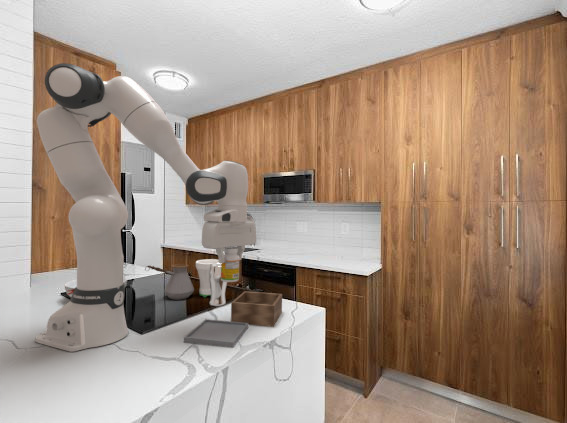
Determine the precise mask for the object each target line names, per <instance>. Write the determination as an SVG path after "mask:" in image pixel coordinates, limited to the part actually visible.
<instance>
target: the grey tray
mask: <svg viewBox="0 0 567 423" xmlns="http://www.w3.org/2000/svg"><path fill="white" fill-rule="evenodd" d="M248 329H249V325H248V323H241V322H231V320H230V321H229V320H220V319H218V320H217V319H208V318H205V319H203V321H202V322H200V323H199V324H198V325H197V326H196V327H194V328H193V329H192V330H191V331H190V332H188V333H187V334H185V335H184V336H183V343H184V344H186V343H189V344H196V345H204V346H211V347H215V346H216V347H224V348H231V349H232V348H235V346H236V344H237V343H238V342H239V341H240V339H241V338H242V337H243V335H244V334H245V332H246V331H247V330H248Z"/></svg>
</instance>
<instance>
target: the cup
mask: <svg viewBox="0 0 567 423" xmlns="http://www.w3.org/2000/svg"><path fill="white" fill-rule="evenodd" d="M213 263H219V262H218V259H215V258H211V259H210V258H209V259H208V258H207V259H206V258H205V259H198V260H196V261H195V268H196V271H197V272H198V277H199V289H198V292H199V296H201V297H203V298H207V297H208V296H210V297H211V290H210V284H209V269H210V264H213Z"/></svg>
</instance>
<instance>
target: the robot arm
mask: <svg viewBox="0 0 567 423" xmlns="http://www.w3.org/2000/svg"><path fill="white" fill-rule="evenodd" d="M44 85H45V88H46V91H47V93H48V94H49V96H50V97H51V98H52V100H53V101H54V102H55V103H56V104H55V105H54V106H53V107H49V108H46V109H44V110H43V111H41V112H40V113H39V114H38V115H37V118H36V124H37V128H38V133H39V136H40V139H41V143H42V145H43V147H44V148H43V149H44V150H45V153H46V155H47V157H48V158H49V161H50V163H51V165H52V167H53V170H54V172H55V173H56V176H57V177H58V180H59V183H60V184H61V185H62V186H63V187H64V189H66V191H67V192H68V193H69V195H70V196H71V198H72V200H74V202H75V203H74V204H72V206H71V207H70V210H68V211H69V212H68V223H69V225H70V226H71V228H72V229H71V230H72V237H73V243H74V248H75V254H76V279H77V287H76V288H75V289H72V290H68V291H71V292H70V293H68V294H67V293H66V294H67V296H69V294H72V293H73V294H72V297H70V300H69V301H68V302H67V303H66V304H64V305H63V306H62V307H61V308H59V309H57V310H56V311H55V312H54V313H52V314H51V315H50V316H49V318H48V319H47V320H48V321H47V324H46V330H45V331H42V332H41V333H39V334H38V335H36V337H35V339H34V342H35V343H37V344H41V345H44V346H49V347H52V348H57V349H60V350H64V351H66V352H70V353H72V352H77V351H81V350H85V349H88V348H89V349H90V348H96V347H102V346H106V345H109V344H113V343H115V342H116V343H117V342H118V341H120V340H122V339H123V338H125V337H126V336H128V334H129V328H128V326H127V322H126V316H125V307H124V301H125V293H126V286H125V284H124V283H123V277H124V263H125V262H124V261H125V260H124V259H125V258H124V257H125V256H124V253H123V252H124V251H123V244H122V236H121V235H122V234H121V233H122V232H121V230H122V229H123V228H124V227H125V226H126V225H127V223H128V220H129V211H128V207H127V206H126V204H125V202H124V201H123V199H122V197H121V195H120V192H119V191H118V190H117V187H116V186H115V184H114V182H113V180H112V179H111V177H110V175H109V173H108V172H107V170H106V168H105V166H104V163H103V161H102V159H101V157H100V154H99V152H98V150H97V147H96V145H95V143H94V141H93V139H92V137H91V135H90V132H89V128H92V127H94V126H95V125H97V124H98V123H100V122H103V121H104V120H106V119H107V118H109V117H110V116H111V115H114V117H115V118H116V119H117V120H118V121H119V122H120V123H121V125H122V126H124V128H125V129H126V130H127V131H128V132H129V133H130V134H131V135H132V136H133V137H134V138H135V139H137V140H138V142H140V143H141V144H143V145H144V146H145V147H146V148H148V149H149V150H150V151H153V153H155V154H157V155H158V156H159V157H160V158H162V159H163V160H164V161H165V162H166V163H167V164H168V165H169V166H170V167H171V169H172V170H173V171H174V172H175V174H176V175H177V176H178V177H179V178H180V179H181V181H182V182H183V183H184V185H185V190H186V193H187V195H188V196H189V199H191V201H192V202H193V203H195V204H196V205H200V206H208V205H211V204H213V203H214V202H217V208H216V209H214V210H213V209H212V210H211V211H209V212H205V213H204V214H203V220H204V223H203V224H202V229H201V245H202V247H203V248H204V249H208V250H209V249H210V250H211V249H212V250H215V253H216V255H217V256H218V259H217V260H218V262H219V263H226V257H224V255H225V253H224V248H228V247H233V248H235V247H236V248H238V253H237V255H238V256H239V257H240V261H241V260H242V257H243V253H244V251H245V250H246V246H251V245H255V244H256V242H257V231H256V230H257V229H256V224H255V220H254V218H253V217H252V216H251V215H248V202H247V197H248V193H249V175H248V169H247V168H246V166H245V165H244V164H242V163H240V162H237V161H233V160H222V162H220V163H218V164H216V165H214V166H212V167H209V168H205V169H200V168H199V167H198V166H197V165H196V164H195V163H194V162H193V160H192V159H191V157H189V155H188V154H187V153H186V152H185V150H184V149H183V147H181V144H180V142H179V140H178V138H177V135H176V133H175V130H174V128H173V125H172V123H171V121H170V120H169V118H168V117H167V115H166V113H165V112H164V110H163V109H162V107H161V106H160V105H159V104H158V103H157V101H155V99H154V98H153V97H152V95H150V94H149V92H148V91H146V90H145V89H144V88H143V87H142V86H141V85H139V84H138V82H136V81H135V80H134V79H132V78H131V77H129V76H125V75H120V76H119V75H118V76H115V77H113V78H111V79H109V80H107V81H104V80H103V79H102V77H101V76H100V75H99V74H97V73H94V72H92V71H91V70H90V71H89V70H87V69H85V68H84V67H81V66H78V65H76V64H72V63H65V62H64V63H62V62H61V63H57V64H54V65H52V66H51V67H50V68H49V69H48V70H47V72H46V73H45V77H44ZM68 291H67V292H68Z"/></svg>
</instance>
